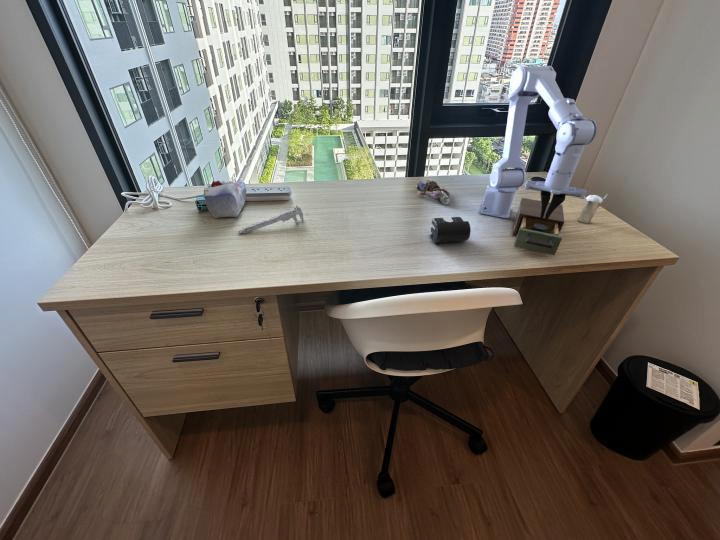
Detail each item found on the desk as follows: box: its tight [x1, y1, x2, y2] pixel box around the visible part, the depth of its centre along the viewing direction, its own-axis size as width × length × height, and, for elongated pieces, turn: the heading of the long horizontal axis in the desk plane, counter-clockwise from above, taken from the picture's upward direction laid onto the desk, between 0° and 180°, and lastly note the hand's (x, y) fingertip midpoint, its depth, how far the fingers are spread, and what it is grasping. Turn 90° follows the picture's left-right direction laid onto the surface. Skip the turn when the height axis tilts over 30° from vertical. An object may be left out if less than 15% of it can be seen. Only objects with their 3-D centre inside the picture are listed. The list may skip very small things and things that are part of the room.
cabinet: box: [512, 197, 565, 237], centre depth 104 cm, size 13×12×8 cm
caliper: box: [238, 204, 304, 234], centre depth 104 cm, size 20×1×6 cm, turn 113°
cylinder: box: [532, 223, 548, 233], centre depth 97 cm, size 4×4×4 cm
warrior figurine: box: [416, 179, 450, 205], centre depth 125 cm, size 12×5×18 cm
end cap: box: [429, 216, 471, 244], centre depth 99 cm, size 10×7×7 cm
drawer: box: [513, 217, 563, 257], centre depth 96 cm, size 16×11×6 cm
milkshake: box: [578, 193, 608, 224], centre depth 109 cm, size 5×5×10 cm
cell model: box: [203, 180, 247, 219], centre depth 113 cm, size 13×11×20 cm
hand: (543, 217), depth 94 cm, fingers closed
